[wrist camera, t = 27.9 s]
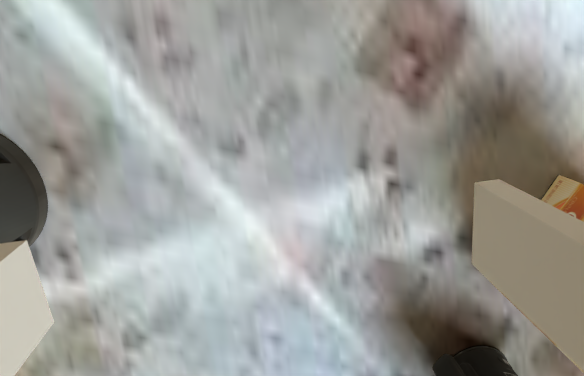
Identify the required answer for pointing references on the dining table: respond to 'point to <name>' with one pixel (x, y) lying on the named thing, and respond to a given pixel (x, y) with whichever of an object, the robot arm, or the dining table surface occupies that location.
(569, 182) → the coffeecake box
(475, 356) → the milk frother
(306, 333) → the dining table surface
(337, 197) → the dining table surface
